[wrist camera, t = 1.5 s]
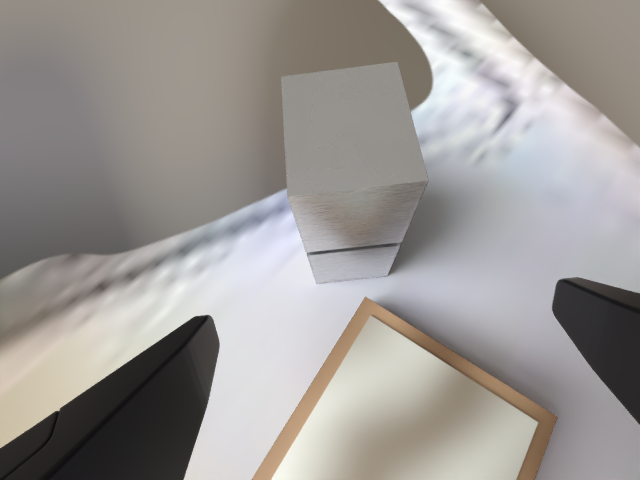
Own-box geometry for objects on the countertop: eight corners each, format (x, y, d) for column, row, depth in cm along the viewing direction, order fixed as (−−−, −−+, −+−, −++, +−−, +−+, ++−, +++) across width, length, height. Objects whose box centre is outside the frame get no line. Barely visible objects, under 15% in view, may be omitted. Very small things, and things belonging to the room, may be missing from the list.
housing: (387, 276, 22) (428, 180, 11) (316, 283, 22) (287, 196, 11) (374, 201, 24) (397, 61, 13) (310, 209, 25) (281, 76, 14)
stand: (525, 410, 18) (560, 417, 15) (440, 621, 15) (464, 682, 12) (362, 306, 21) (365, 295, 18) (264, 465, 18) (248, 484, 15)
